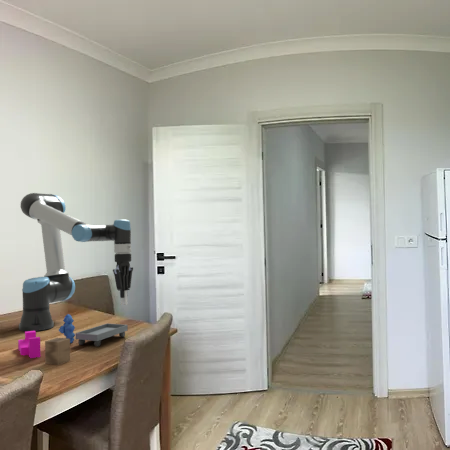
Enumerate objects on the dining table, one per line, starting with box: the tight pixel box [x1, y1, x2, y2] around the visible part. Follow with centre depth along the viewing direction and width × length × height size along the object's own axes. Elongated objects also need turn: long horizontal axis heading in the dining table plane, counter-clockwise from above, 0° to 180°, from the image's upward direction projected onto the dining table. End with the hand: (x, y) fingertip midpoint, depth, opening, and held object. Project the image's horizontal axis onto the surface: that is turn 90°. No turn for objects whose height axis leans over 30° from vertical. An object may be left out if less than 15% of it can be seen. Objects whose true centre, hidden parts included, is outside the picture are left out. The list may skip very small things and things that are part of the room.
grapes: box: [58, 313, 76, 344], centre depth 196 cm, size 12×7×12 cm, turn 30°
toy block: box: [17, 331, 41, 359], centre depth 179 cm, size 15×6×8 cm, turn 30°
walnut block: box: [44, 337, 71, 366], centre depth 167 cm, size 6×6×8 cm
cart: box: [75, 323, 128, 347], centre depth 197 cm, size 11×21×5 cm, turn 157°
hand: (124, 304), depth 211 cm, fingers closed
